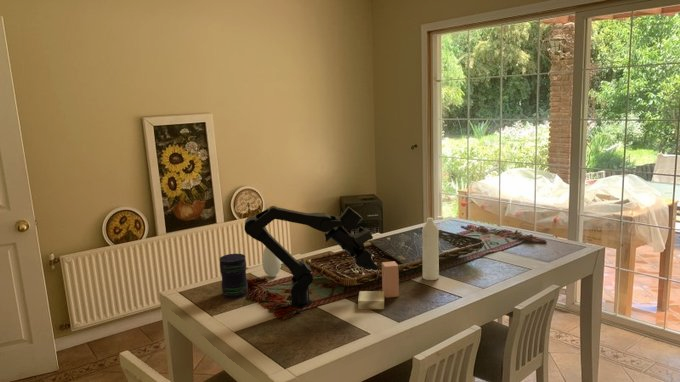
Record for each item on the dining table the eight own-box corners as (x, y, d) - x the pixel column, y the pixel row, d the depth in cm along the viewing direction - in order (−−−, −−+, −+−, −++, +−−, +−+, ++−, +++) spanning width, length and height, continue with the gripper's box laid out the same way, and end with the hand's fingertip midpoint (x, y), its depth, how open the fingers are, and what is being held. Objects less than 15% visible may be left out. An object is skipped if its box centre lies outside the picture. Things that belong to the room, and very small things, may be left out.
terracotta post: (385, 297, 186) (385, 266, 184) (382, 292, 191) (381, 262, 189) (398, 296, 187) (398, 265, 184) (395, 291, 192) (394, 261, 189)
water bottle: (427, 281, 200) (426, 220, 195) (419, 276, 206) (419, 217, 201) (446, 278, 203) (446, 218, 198) (438, 273, 209) (438, 214, 204)
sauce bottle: (260, 279, 210) (257, 237, 207) (267, 272, 218) (264, 232, 214) (278, 280, 208) (275, 238, 205) (284, 273, 216) (281, 233, 213)
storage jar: (252, 290, 198) (249, 254, 196) (241, 300, 189) (238, 262, 186) (229, 288, 201) (226, 253, 198) (217, 298, 192) (214, 261, 189)
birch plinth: (358, 309, 177) (358, 301, 176) (359, 298, 186) (359, 291, 185) (383, 309, 176) (383, 301, 175) (384, 298, 185) (384, 291, 184)
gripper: (364, 229, 173) (396, 256, 176) (353, 216, 191) (383, 242, 194) (342, 253, 173) (374, 280, 177) (334, 238, 191) (363, 263, 195)
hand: (374, 265), depth 186 cm, fingers open, 9 cm apart
